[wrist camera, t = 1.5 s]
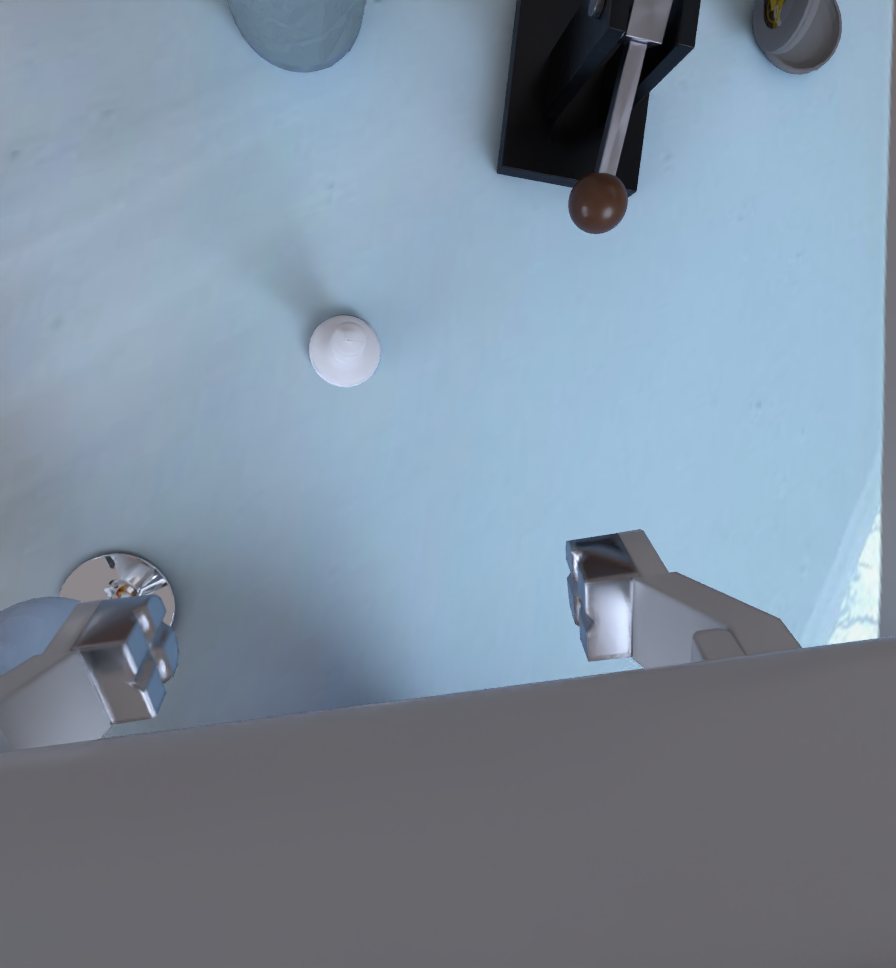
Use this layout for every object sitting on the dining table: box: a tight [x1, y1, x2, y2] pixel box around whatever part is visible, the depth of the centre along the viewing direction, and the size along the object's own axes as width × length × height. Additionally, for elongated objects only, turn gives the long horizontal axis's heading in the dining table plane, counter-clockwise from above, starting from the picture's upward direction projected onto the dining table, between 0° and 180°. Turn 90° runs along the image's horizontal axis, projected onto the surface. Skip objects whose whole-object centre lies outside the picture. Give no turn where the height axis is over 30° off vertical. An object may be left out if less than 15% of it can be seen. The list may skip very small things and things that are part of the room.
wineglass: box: [0, 553, 176, 676], centre depth 38 cm, size 8×8×20 cm
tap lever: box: [568, 0, 673, 234], centre depth 42 cm, size 13×4×4 cm, turn 172°
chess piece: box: [309, 315, 380, 387], centre depth 44 cm, size 5×5×10 cm
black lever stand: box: [497, 0, 701, 197], centre depth 44 cm, size 12×10×13 cm
